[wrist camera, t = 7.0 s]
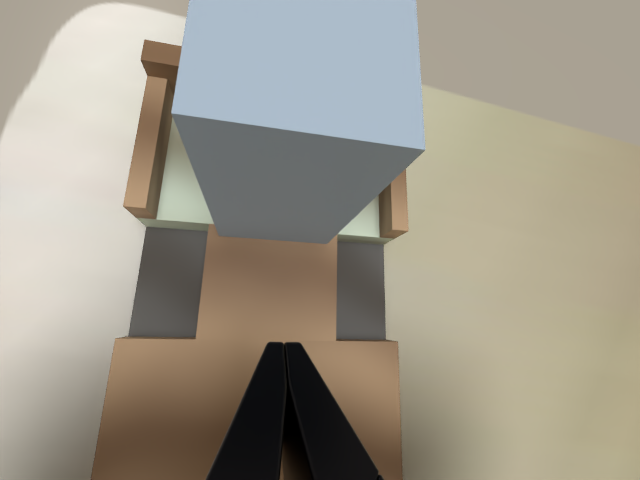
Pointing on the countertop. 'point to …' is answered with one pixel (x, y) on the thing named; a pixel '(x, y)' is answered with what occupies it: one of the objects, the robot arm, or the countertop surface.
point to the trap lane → (237, 313)
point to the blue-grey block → (298, 110)
